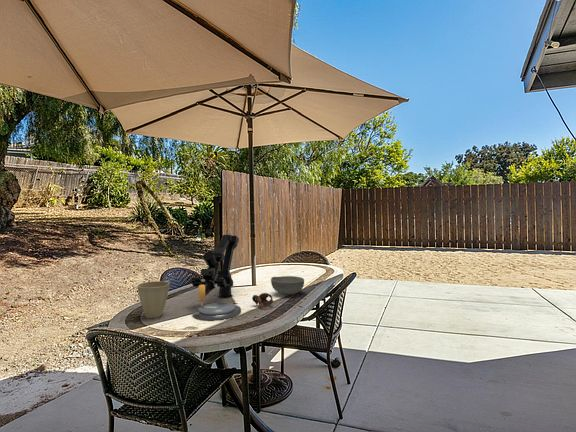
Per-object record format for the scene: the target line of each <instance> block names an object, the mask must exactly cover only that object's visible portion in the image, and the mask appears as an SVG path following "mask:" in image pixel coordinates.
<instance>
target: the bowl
mask: <svg viewBox="0 0 576 432" xmlns="http://www.w3.org/2000/svg"><path fill="white" fill-rule="evenodd" d="M270 284H271V286H272V289H273V290H274V291H275V292H276V293H278V294H280V295H284V296H292V295H295V294H298V293H299V292H300V291H302V289H303V288H304V285H305V279H304V278H303V277H300V276H297V275H296V276H293V275H287V276H285V275H283V276H272V277H271V278H270Z"/></svg>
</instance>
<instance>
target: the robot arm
mask: <svg viewBox="0 0 576 432" xmlns="http://www.w3.org/2000/svg"><path fill="white" fill-rule="evenodd" d="M239 239H240V238H239V237H238V236H237V235H232V234H223V235H222V236H221V239H220V241H219V243H218V245H217V247H216V248H214V249H213V250H210V249H209V250H207V252H205V253H203V254H202V259H203V261H204V262H205V264H206V266H208V267H207V268H201V269H200V273H199V274H200V276H202V277H201V278H200V277H199V276H192V277H191V278H190V280H189V281H190V284H192V286H193V287H194V288H195V287H196V288H199V285H205V297H207V296H208V295H209V293H211V292H212V291H214V290H215V289H216V287H219V289H218V297H220V298H222V299H225V298H230V297H233V294H232V287H234V280H233V278H232V274H231V265H232V261H233V255H234V250H235V249H236V248H237V247H238V244H239V242H240V240H239ZM222 262H223V263H222ZM220 263H222V268H221V265H220Z"/></svg>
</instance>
